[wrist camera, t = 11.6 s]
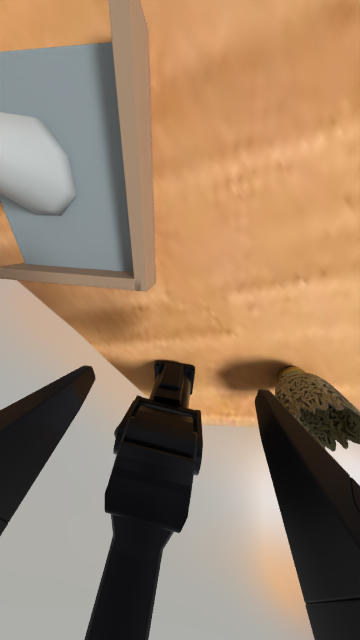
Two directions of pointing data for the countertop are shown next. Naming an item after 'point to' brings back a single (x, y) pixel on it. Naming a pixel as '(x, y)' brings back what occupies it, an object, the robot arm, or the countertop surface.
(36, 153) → the flask
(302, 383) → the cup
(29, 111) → the corner arena
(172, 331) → the countertop surface
